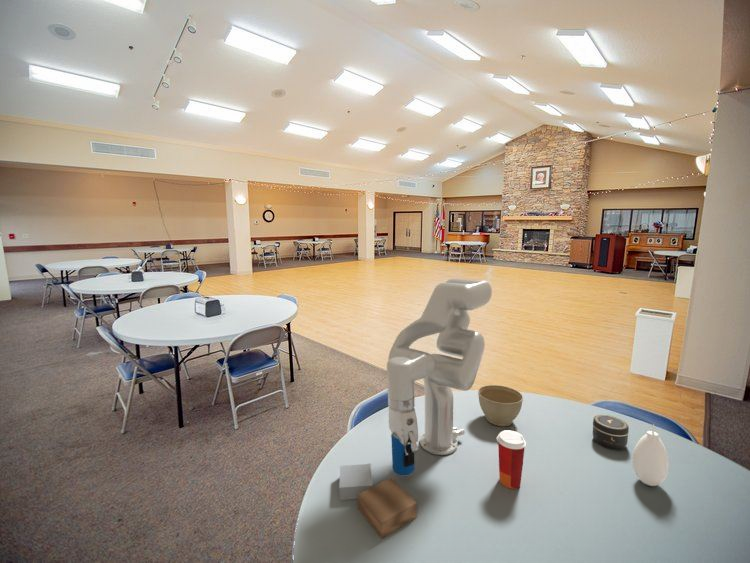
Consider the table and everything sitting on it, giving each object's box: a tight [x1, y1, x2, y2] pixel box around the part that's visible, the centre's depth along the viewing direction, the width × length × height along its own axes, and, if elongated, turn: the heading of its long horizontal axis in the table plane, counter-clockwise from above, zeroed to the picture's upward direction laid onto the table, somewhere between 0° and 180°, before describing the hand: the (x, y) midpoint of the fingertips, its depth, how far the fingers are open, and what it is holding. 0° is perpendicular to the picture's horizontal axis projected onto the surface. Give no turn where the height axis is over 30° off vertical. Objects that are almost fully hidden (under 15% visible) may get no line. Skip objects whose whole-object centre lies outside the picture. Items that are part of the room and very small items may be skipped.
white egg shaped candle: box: [631, 423, 670, 487], centre depth 96 cm, size 8×8×18 cm
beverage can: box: [390, 433, 416, 477], centre depth 100 cm, size 6×6×12 cm
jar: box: [592, 414, 630, 451], centre depth 116 cm, size 10×10×8 cm
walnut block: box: [356, 477, 418, 539], centre depth 88 cm, size 11×11×4 cm
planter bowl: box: [477, 384, 524, 427], centre depth 131 cm, size 16×16×11 cm
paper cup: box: [496, 429, 527, 490], centre depth 97 cm, size 8×8×14 cm
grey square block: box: [338, 463, 373, 501], centre depth 97 cm, size 9×9×4 cm
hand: (403, 457), depth 100 cm, fingers closed on beverage can, 6 cm apart
